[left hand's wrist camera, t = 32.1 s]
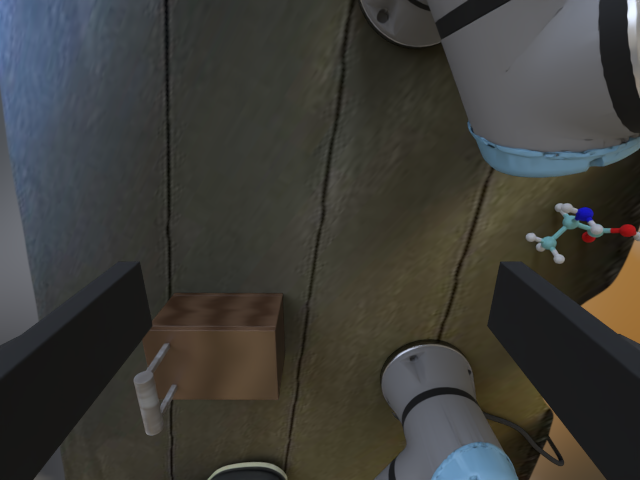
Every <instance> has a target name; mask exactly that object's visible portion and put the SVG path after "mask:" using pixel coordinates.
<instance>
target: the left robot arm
mask: <svg viewBox="0 0 640 480" xmlns="http://www.w3.org/2000/svg"><path fill="white" fill-rule="evenodd" d="M358 1H359V4H360V7H361V10H362V12H363V14H364V16H365V18H366V19H367V21H368V23H369V24H370V25H371V27H372V28H373V29H374V30H375V31H376V32H377V33H378V34H379V35H380V36H381V37H383V38H384V39H386V40H387V41H389V42H391V43H393V44H395V45H398V46H401V47H405V48H413V49H418V48H426V47H431V46H434V45H437V44H439V43H442V45H443V48H444V51H445V54H446V57H447V60H448V63H449V65H450V68H451V71H452V74H453V77H454V80H455V82H456V85H457V88H458V91H459V94H460V97H461V100H462V102H463V105H464V108H465V111H466V114H467V117H468V128H469V131H470V133H471V134H472V135H473V137H474V138H475V139H476V141H477V144H478V146H479V149H480V151H481V154H482V156H483V158H484V160H485V161H486V162H487V163H488V164H489V165H490V166H491V167H493V168H494V169H495V170H497V171H500V172H502V173H505V174H508V175H513V176H519V177H556V176H564V175H570V174H576V173H581V172H585V171H587V170H588V168H589V167H590V166H606V165H609V164H612V163H614V162H617V161H619V160H621V159H623V158H625V157H627V156H629V155H630V154H632V153H634V152H635V151H637V150H638V149H639V148H640V0H358ZM152 326H153V325H152V320H151V315H150V310H149V305H148V300H147V295H146V290H145V285H144V280H143V275H142V270H141V266H140V262H118V263H116V264H115V265H114V266H112V267H111V268H110V269H108V270H107V271H106V272H104V273H103V274H102V275H100V276H99V277H98V278H96V279H95V280H94V281H92V282H91V283H90V284H88V285H87V286H86V287H84V288H83V289H82V290H80V291H79V292H78V293H76V294H75V295H74V296H72V297H71V298H70V299H68V300H67V301H66V302H64V303H63V304H62V305H60V306H59V307H58V308H56V309H55V310H54V311H52V312H51V313H50V314H48V315H47V316H46V317H44V318H43V319H42V320H40V321H39V322H38V323H36V324H35V325H34V326H32V327H31V328H30V329H28V330H27V331H26V332H24V333H23V334H22V335H20V336H18V337H16V338H14V339H12V340H10V341H8V342H6V343H4V344H2V345H0V480H33V479H34V478H35V477H36V475H37V474H38V473H39V472H40V470H41V469H42V468H43V466H44V465H45V464H46V462H47V461H48V460H49V459H50V457H51V456H52V455H53V454H54V452H55V451H56V450H57V448H58V447H59V446H60V445H61V443H62V442H63V441H64V439H65V438H66V437H67V436H68V434H69V433H70V432H71V430H72V429H73V428H74V427H75V425H76V424H77V423H78V421H79V420H80V419H81V418H82V416H83V415H84V414H85V412H86V411H87V410H88V409H89V407H90V406H91V405H92V403H93V402H94V401H95V400H96V398H97V397H98V396H99V394H100V393H101V392H102V391H103V389H104V388H105V387H106V385H107V384H108V383H109V381H110V380H111V379H112V378H113V376H114V375H115V374H116V372H117V371H118V370H119V369H120V367H121V366H122V365H123V363H124V362H125V361H126V360H127V358H128V357H129V356H130V354H131V353H132V352H133V351H134V349H135V348H136V347H137V345H138V344H139V343H140V342H141V340H142V339H143V338H144V336H145V335H146V334H147V333H148V331H149V330H150V329H151V327H152ZM487 326H488V327H489V329H490V330H491V331H492V333H493V334H494V335H495V336H496V338H497V339H498V340H499V342H500V343H501V344H502V345H503V347H504V348H505V349H506V351H507V352H508V353H509V354H510V356H511V357H512V358H513V360H514V361H515V362H516V363H517V365H518V366H519V367H520V369H521V370H522V371H523V372H524V374H525V375H526V376H527V378H528V379H529V380H530V381H531V383H532V384H533V385H534V387H535V388H536V389H537V391H538V392H539V393H540V394H541V396H542V397H543V398H544V400H545V401H546V402H547V403H548V405H549V406H550V407H551V409H552V410H553V411H554V412H555V414H556V415H557V416H558V418H559V419H560V420H561V421H562V423H563V424H564V425H565V426H566V428H567V429H568V430H569V432H570V433H571V434H572V436H573V437H574V438H575V439H576V441H577V442H578V443H579V445H580V446H581V447H582V448H583V450H584V451H585V452H586V454H587V455H588V456H589V457H590V459H591V460H592V461H593V463H594V464H595V465H596V466H597V468H598V469H599V470H600V471H601V473H602V474H603V475H604V477H605V478H606V479H607V480H640V344H639V343H637V342H635V341H633V340H631V339H629V338H627V337H625V336H623V335H621V334H617V333H616V332H614V331H613V330H612V329H610V328H609V327H608V326H606V325H605V324H604V323H602V322H601V321H600V320H598V319H597V318H596V317H594V316H593V315H592V314H590V313H589V312H588V311H586V310H585V309H584V308H582V307H581V306H580V305H578V304H577V303H576V302H574V301H573V300H572V299H570V298H569V297H568V296H566V295H565V294H564V293H562V292H561V291H560V290H558V289H557V288H556V287H554V286H553V285H552V284H550V283H549V282H548V281H546V280H545V279H544V278H542V277H541V276H540V275H538V274H537V273H536V272H534V271H533V270H532V269H530V268H529V267H528V266H526V265H525V264H524V263H522V262H500V266H499V270H498V275H497V280H496V285H495V290H494V295H493V300H492V305H491V310H490V315H489V320H488V325H487Z"/></svg>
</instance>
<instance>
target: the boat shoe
mask: <svg viewBox="0 0 640 480" xmlns="http://www.w3.org/2000/svg"><path fill="white" fill-rule="evenodd" d="M208 480H288V479H287V475H286V474H285V472H284V471H283V470H282V469H280V468H279V467H277V466H275V465H273V464H270V463H264V462H246V463H237V464H232V465H227V466H224V467H222V468H220V469H218V470H216V471H215V472H214V473H213V474H212V475H211V476H210V477H209V479H208Z"/></svg>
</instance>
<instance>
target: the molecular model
mask: <svg viewBox="0 0 640 480" xmlns="http://www.w3.org/2000/svg"><path fill="white" fill-rule="evenodd" d="M555 210H556V211H557V212H560V213H561V214H562V216H563V217H564V220H563V227H562V228H561V229H560V230H559V231H558V232H556V233H555V234H554V235H553V236H552V237H549V236H548V237H544V238H543V239H542V238H539V237H536V235H535V234H534V233H528V234H527V235H526V239H527V241H529V242H533V241H537V242H540V243H539V244H537V245H536V249H537V250H538V251H544V250H545V249H547V250H550V251H551V252H552V254H553V255H554V261H555V262H556V263H558V264H560V263H563V262H564V260H565V258H564V256H562V255H559V253H558V252H557V250H556V249H555V246H556V244H557V242H556V239H557V238H558V237H559V236H560V235H561V234H562V233H564V232H565V231H566V230H567V229H574V228H576V227H579V228H582V229H585V230H587V232H585V233H583V235H582V239H583V241H585V242H592V241H594V240H595V238H596V237H600V236H601V235H603V233H620V234H621V235H622V236H625V237H630V236H634V239H635V240H637V241H640V232H636V229H635V227H634V226H632V225H629V224H627V225H623V226H621V228H603V227H602V226H601V225H599V224H596V223H595V222H594V221H593V220H592V217H593V211H592V210H591V209H590V208H586V207H584V208H581V209H576V208H573V206H572V205H571V204H568V203H566V204H562V203H559V204H557V205H556V206H555ZM570 212H571V213H574V214H576V217H575V216H569V215H568V214H567V213H570ZM579 220H581V221H587V223H588V224H589V225H590V226H587V225H584V224H581V223H579Z"/></svg>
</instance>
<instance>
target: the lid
mask: <svg viewBox="0 0 640 480" xmlns="http://www.w3.org/2000/svg"><path fill="white" fill-rule="evenodd" d="M142 342H143V346H144V351H145V356H146V360H147V365H148V368H147V370H146V371H144V372H141V373H139V374H137V375H136V376H135V378H134V384H135V389H136V393H137V397H138V401H139V406H140V410H141V414H142V418H143V423H144V427H145V431H146V434H148V435H155V434H158V433H159V432H160V431H161V430H162V429H163V427H164V423H163V418H162V417H163V415H164V414H165V412H166V410H167V408H168V406H169V404H170V402H171V400H172V399H227V400H278V399H279V381H278V361H277V340H276V327H191V326H152V327H151V329H150V330H149V331H148V333H147V334H146V335H145V336H144V338H143V339H142ZM159 399H164V400H163V402H162V404H161V406H160V404H159Z"/></svg>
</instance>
